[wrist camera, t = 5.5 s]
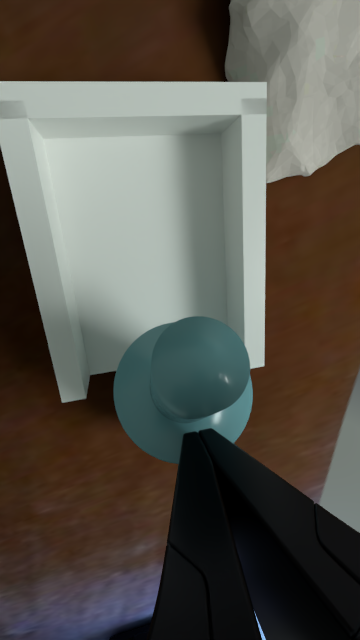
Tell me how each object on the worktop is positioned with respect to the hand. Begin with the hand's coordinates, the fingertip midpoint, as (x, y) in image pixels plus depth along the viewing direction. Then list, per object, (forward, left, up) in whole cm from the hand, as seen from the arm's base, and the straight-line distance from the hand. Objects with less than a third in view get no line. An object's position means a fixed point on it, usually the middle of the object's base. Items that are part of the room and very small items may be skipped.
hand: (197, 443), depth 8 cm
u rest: (+5, 0, -8) cm, 9 cm away
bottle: (-3, 0, -7) cm, 8 cm away
